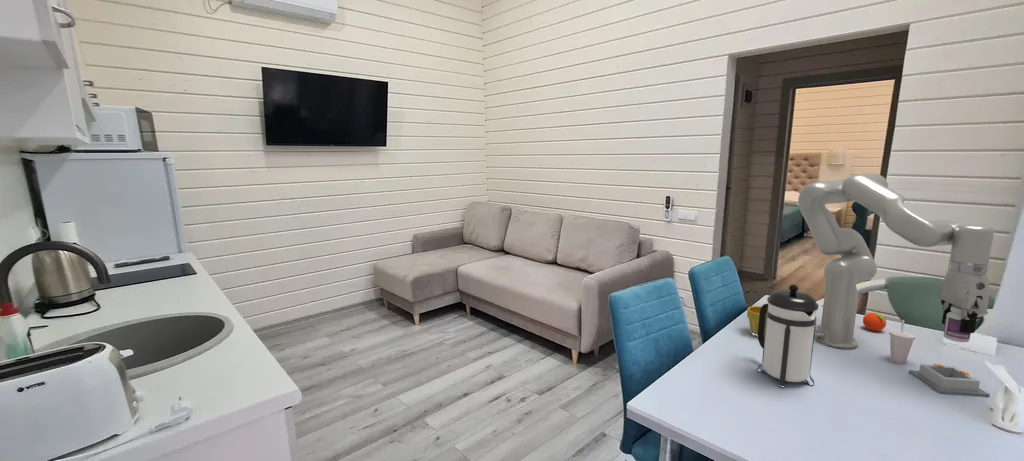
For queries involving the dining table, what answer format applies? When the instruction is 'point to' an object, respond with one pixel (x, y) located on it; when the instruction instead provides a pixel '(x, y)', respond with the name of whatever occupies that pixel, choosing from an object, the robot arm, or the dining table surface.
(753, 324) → the plant pot
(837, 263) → the robot arm
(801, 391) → the dining table surface
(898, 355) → the smoothie
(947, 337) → the pill bottle
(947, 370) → the socket
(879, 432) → the dining table surface
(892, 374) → the dining table surface
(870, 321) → the clementine
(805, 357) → the coffee press
